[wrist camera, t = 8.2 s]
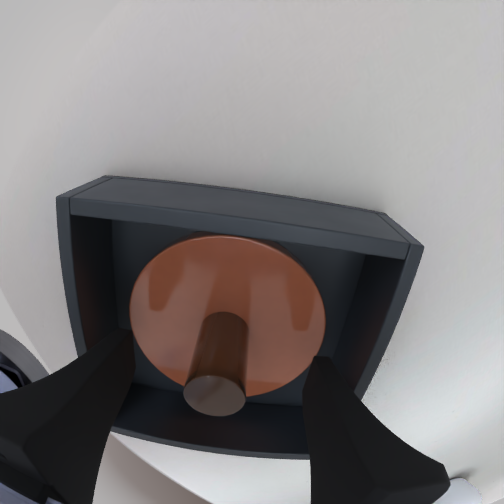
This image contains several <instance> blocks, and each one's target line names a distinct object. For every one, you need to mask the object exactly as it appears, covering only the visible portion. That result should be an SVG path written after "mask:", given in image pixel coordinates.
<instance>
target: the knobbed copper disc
mask: <svg viewBox="0 0 504 504" xmlns="http://www.w3.org/2000/svg"><path fill="white" fill-rule="evenodd" d="M129 316H130V323H131V327H132V331H133V334H134V337H135V339H136V341H137V343H138V345H139V347H140V348H141V350H142V352H143V353H144V355H145V356H146V357H147V358H148V360H149V361H150V362H151V363H152V364H153V365H154V366H155V367H156V368H157V369H158V370H159V371H161V372H162V373H163V374H164V375H166V376H167V377H168V378H170V379H172V380H173V381H175V382H176V383H178V384H180V385H182V386H184V389H183V395H184V398H185V400H186V402H187V403H188V404H189V405H190V406H191V407H192V408H193V409H195V410H197V411H199V412H201V413H203V414H207V415H211V416H227V415H231V414H234V413H236V412H238V411H239V410H240V409H241V408H242V407H243V406H244V404H245V401H246V397H249V396H255V395H260V394H264V393H267V392H270V391H273V390H275V389H278V388H280V387H282V386H284V385H286V384H288V383H289V382H291V381H292V380H294V379H295V378H297V377H298V376H299V375H300V374H301V373H302V372H304V371H305V370H306V369H307V368H308V366H309V365H310V364H311V363H312V360H313V357H314V356H316V355H317V353H318V352H319V350H320V347H321V345H322V342H323V339H324V335H325V330H326V313H325V307H324V303H323V299H322V296H321V293H320V290H319V288H318V285H317V283H316V281H315V279H314V278H313V276H312V274H311V273H310V271H309V270H308V269H307V268H306V266H305V265H304V264H303V263H302V262H301V261H300V260H299V259H298V258H297V257H296V256H295V255H293V254H292V253H291V252H290V251H288V250H287V249H285V248H284V247H282V246H281V245H279V244H277V243H275V242H273V241H271V240H264V239H257V238H250V237H242V236H235V235H227V234H220V233H213V232H205V231H201V232H196V233H192V234H189V235H186V236H183V237H181V238H179V239H177V240H175V241H173V242H171V243H169V244H167V245H166V246H165V247H163V248H162V249H160V250H159V251H158V252H157V253H156V254H155V255H154V256H153V257H152V258H151V259H150V260H149V261H148V263H147V264H146V265H145V267H144V268H143V269H142V271H141V272H140V274H139V275H138V277H137V279H136V281H135V283H134V286H133V289H132V292H131V296H130V303H129Z"/></svg>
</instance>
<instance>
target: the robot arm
mask: <svg viewBox="0 0 504 504" xmlns="http://www.w3.org/2000/svg"><path fill="white" fill-rule="evenodd" d="M135 369H136V362H135V353H134V344H133V333H132V330H128V329H123V328H117V329H116V330H114V331H113V332H112V333H110V334H109V335H108V336H107V337H105V338H104V339H103V340H101V341H100V342H99V343H98V344H96V345H95V346H94V347H92V348H91V349H90V350H88V351H87V352H86V353H84V354H83V355H81V356H80V357H79V358H77V359H76V360H74V361H73V362H71V363H70V364H68V365H67V366H65V367H63V368H62V369H60V370H58V371H56V372H54V373H53V374H51V375H49V376H47V377H45V378H43V379H40V380H38V381H36V382H33V383H31V384H29V385H26V386H25V385H24V382H23V380H22V377H21V375H20V373H19V372H18V371H17V370H15V369H13V368H10V367H8V366H6V365H4V364H1V363H0V504H92V502H93V496H94V490H95V485H96V480H97V475H98V471H99V467H100V463H101V459H102V455H103V451H104V448H105V445H106V442H107V438H108V435H109V433H110V430H111V428H112V426H113V423H114V421H115V419H116V417H117V415H118V412H119V410H120V408H121V406H122V404H123V402H124V399H125V397H126V395H127V393H128V391H129V388H130V385H131V382H132V379H133V376H134V373H135ZM302 409H303V418H304V425H305V431H306V437H307V443H308V450H309V456H310V466H311V504H433V503H434V502H435V501H437V500H438V499H439V498H440V497H441V496H443V495H444V494H445V493H446V492H447V491H448V489H449V487H450V486H451V483H450V480H449V477H448V475H447V472H446V469H445V467H444V465H443V464H441V463H439V462H437V461H435V460H433V459H431V458H430V457H428V456H426V455H424V454H422V453H421V452H419V451H417V450H416V449H414V448H413V447H411V446H410V445H408V444H407V443H405V442H404V441H403V440H401V439H400V438H399V437H397V436H396V435H395V434H394V433H392V432H391V431H390V430H389V429H388V428H387V427H385V426H384V425H383V424H382V423H381V422H380V421H379V420H378V419H377V418H376V417H375V416H374V415H373V414H372V413H371V412H370V411H369V410H368V408H367V407H366V406H365V405H364V404H363V403H362V402H361V400H360V399H359V398H358V397H357V395H356V394H355V393H354V391H353V390H352V389H351V388H350V386H349V385H348V384H347V382H346V381H345V379H344V378H343V377H342V375H341V374H340V372H339V371H338V369H337V368H336V366H335V365H334V364H333V362H332V361H331V359H330V358H329V357H325V356H314V357H313V360H312V363H311V366H310V369H309V372H308V375H307V378H306V381H305V384H304V387H303V389H302Z"/></svg>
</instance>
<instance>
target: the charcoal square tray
mask: <svg viewBox="0 0 504 504" xmlns="http://www.w3.org/2000/svg"><path fill="white" fill-rule="evenodd" d="M56 211H57V227H58V240H59V250H60V259H61V268H62V276H63V283H64V289H65V296H66V302H67V307H68V313H69V318H70V323H71V328H72V333H73V338H74V342H75V347H76V351H77V355H78V358H79V357H80V356H81V355H83V354H84V353H86V352H87V351H88V350H90V349H91V348H92V347H94V346H95V345H96V344H98V343H99V342H100V341H101V340H103V339H104V338H105V337H107V336H108V335H109V334H110V333H112V332H113V331H114V330H116V329H117V328H123V329H128V330H132V327H131V323H130V316H129V303H130V296H131V292H132V289H133V286H134V283H135V281H136V279H137V277H138V275H139V274H140V272H141V271H142V269H143V268H144V267H145V265H146V264H147V263H148V261H149V260H150V259H151V258H152V257H153V256H154V255H155V254H156V253H157V252H158V251H159V250H160V249H162V248H163V247H165V246H166V245H167V244H169V243H171V242H173V241H175V240H177V239H179V238H181V237H183V236H186V235H189V234H192V233H196V232H201V231H205V232H213V233H220V234H227V235H235V236H242V237H250V238H257V239H264V240H271V241H273V242H275V243H277V244H279V245H281V246H282V247H284V248H285V249H287V250H288V251H290V252H291V253H292V254H293V255H295V256H296V257H297V258H298V259H299V260H300V261H301V262H302V263H303V264H304V265H305V266H306V268H307V269H308V270H309V271H310V273H311V274H312V276H313V278H314V279H315V281H316V283H317V285H318V288H319V290H320V293H321V296H322V299H323V303H324V307H325V313H326V330H325V335H324V339H323V342H322V345H321V347H320V350H319V352H318V353H317V355H316V356H325V357H329V358H330V359H331V361H332V362H333V364H334V365H335V366H336V368H337V369H338V371H339V372H340V374H341V375H342V377H343V378H344V379H345V381H346V382H347V384H348V385H349V386H350V388H351V389H352V390H353V391H354V393H355V394H356V395H357V397H358V398H359V399H360V400H362V398H363V396H364V394H365V392H366V390H367V388H368V386H369V384H370V382H371V380H372V378H373V376H374V374H375V372H376V370H377V368H378V366H379V363H380V361H381V359H382V357H383V355H384V353H385V350H386V348H387V346H388V344H389V341H390V339H391V337H392V334H393V332H394V330H395V327H396V325H397V322H398V320H399V318H400V315H401V313H402V310H403V307H404V305H405V302H406V300H407V297H408V294H409V292H410V289H411V286H412V283H413V280H414V278H415V275H416V272H417V269H418V266H419V263H420V260H421V257H422V254H423V251H424V246H423V245H422V244H421V243H420V242H419V241H418V240H416V239H415V238H414V237H413V236H412V235H411V234H409V233H408V232H407V231H406V230H405V229H403V228H402V227H401V226H400V225H399V224H397V223H396V222H395V221H394V220H393V219H391V218H390V217H389V216H388V215H387V214H386V213H382V212H377V211H372V210H366V209H361V208H356V207H350V206H345V205H339V204H333V203H328V202H322V201H316V200H310V199H304V198H297V197H291V196H284V195H278V194H271V193H264V192H257V191H250V190H242V189H235V188H227V187H219V186H211V185H202V184H193V183H184V182H175V181H165V180H155V179H144V178H132V177H120V176H106V175H105V176H102V177H100V178H98V179H96V180H93V181H91V182H88V183H86V184H84V185H81V186H79V187H77V188H75V189H72V190H70V191H68V192H66V193H63V194H61V195H59V196H57V197H56ZM132 333H133V331H132ZM133 344H134V353H135V362H136V369H135V373H134V376H133V379H132V382H131V385H130V388H129V391H128V393H127V395H126V397H125V399H124V402H123V404H122V406H121V408H120V410H119V412H118V415H117V417H116V419H115V421H114V423H113V426H112V428H111V430H110V431H112V432H115V433H119V434H123V435H126V436H130V437H134V438H138V439H142V440H146V441H151V442H155V443H160V444H165V445H170V446H175V447H180V448H186V449H191V450H198V451H204V452H211V453H218V454H226V455H235V456H245V457H257V458H272V459H299V460H310V456H309V450H308V443H307V437H306V431H305V425H304V418H303V409H302V389H303V387H304V384H305V381H306V378H307V375H308V372H309V369H310V366H311V364H310V365H309V366H308V368H307V369H306V370H305V371H304V372H302V373H301V374H300V375H299V376H298V377H297V378H295V379H294V380H292V381H291V382H289V383H288V384H286V385H284V386H282V387H280V388H278V389H275V390H273V391H270V392H267V393H264V394H260V395H255V396H249V397H246V401H245V404H244V406H243V407H242V408H241V409H240V410H239V411H238V412H236V413H234V414H231V415H227V416H211V415H207V414H203V413H201V412H199V411H197V410H195V409H193V408H192V407H191V406H190V405H189V404H188V403H187V402H186V400H185V398H184V395H183V389H184V386H182V385H180V384H178V383H176V382H175V381H173V380H172V379H170V378H168V377H167V376H166V375H164V374H163V373H162V372H161V371H159V370H158V369H157V368H156V367H155V366H154V365H153V364H152V363H151V362H150V361H149V360H148V358H147V357H146V356H145V355H144V353H143V352H142V350H141V348H140V347H139V345H138V343H137V341H136V339H135V337H134V334H133Z"/></svg>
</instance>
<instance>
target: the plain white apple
mask: <svg viewBox="0 0 504 504" xmlns="http://www.w3.org/2000/svg"><path fill="white" fill-rule="evenodd" d="M450 483H451V486H450V487H449V489H448V491H447V492H446V493H445V494H444V495H443V496H441V497H440V498H439V499H438V500H437V501H435V502H434V503H433V504H482V496H481V493H480V491H479V490H478V489H477V488H476V487H475V486H473V485H472V484H471V483H469V482H468V481H467V480H465V479H463V478H456V479H451V480H450Z"/></svg>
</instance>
